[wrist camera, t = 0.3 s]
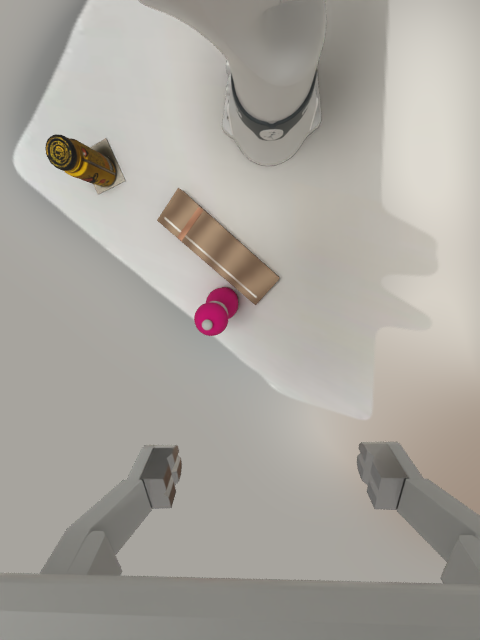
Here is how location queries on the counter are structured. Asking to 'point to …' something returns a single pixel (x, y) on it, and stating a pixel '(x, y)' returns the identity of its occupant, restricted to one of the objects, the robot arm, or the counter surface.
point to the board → (217, 247)
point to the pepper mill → (216, 311)
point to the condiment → (85, 161)
